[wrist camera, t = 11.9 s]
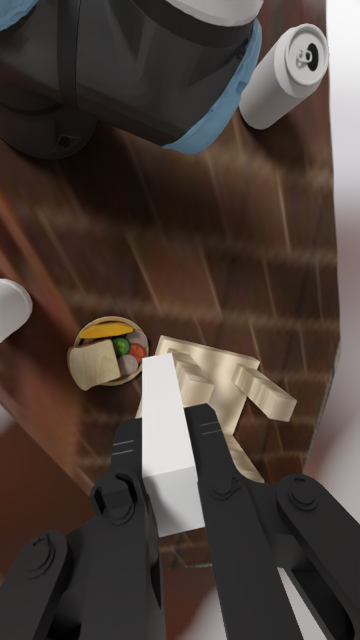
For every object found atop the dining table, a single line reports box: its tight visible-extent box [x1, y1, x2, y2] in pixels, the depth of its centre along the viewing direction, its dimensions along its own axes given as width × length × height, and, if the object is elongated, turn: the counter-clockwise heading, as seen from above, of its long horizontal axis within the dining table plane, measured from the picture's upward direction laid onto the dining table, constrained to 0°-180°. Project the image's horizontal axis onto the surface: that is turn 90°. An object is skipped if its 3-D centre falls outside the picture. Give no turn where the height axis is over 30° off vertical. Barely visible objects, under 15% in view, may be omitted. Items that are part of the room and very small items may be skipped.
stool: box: [135, 335, 297, 483], centre depth 46 cm, size 20×20×16 cm
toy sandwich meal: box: [67, 316, 149, 391], centre depth 45 cm, size 12×14×5 cm
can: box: [239, 24, 329, 129], centre depth 38 cm, size 8×8×12 cm
